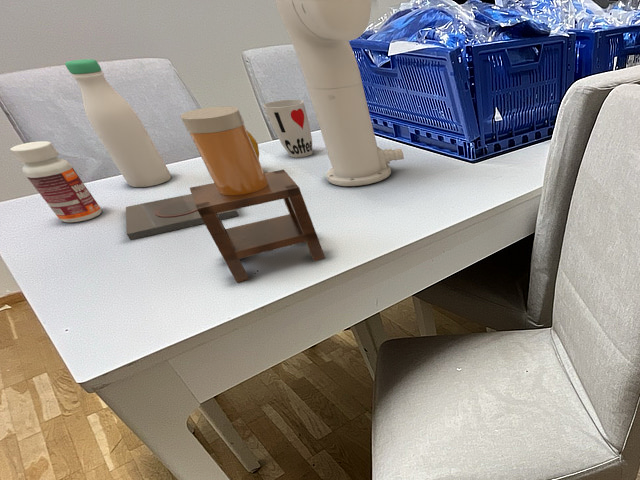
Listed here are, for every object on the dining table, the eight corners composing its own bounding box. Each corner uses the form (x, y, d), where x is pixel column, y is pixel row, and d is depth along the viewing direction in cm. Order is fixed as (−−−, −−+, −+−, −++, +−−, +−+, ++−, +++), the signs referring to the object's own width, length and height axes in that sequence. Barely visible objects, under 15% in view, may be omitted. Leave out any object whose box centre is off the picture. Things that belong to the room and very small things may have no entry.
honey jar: (264, 176, 62) (234, 103, 56) (273, 188, 58) (242, 112, 52) (214, 185, 59) (177, 111, 53) (221, 199, 55) (182, 121, 50)
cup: (284, 161, 99) (264, 109, 92) (281, 152, 104) (261, 102, 97) (322, 155, 102) (305, 104, 95) (316, 147, 107) (300, 97, 100)
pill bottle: (102, 218, 78) (52, 146, 70) (59, 226, 76) (2, 153, 68) (104, 207, 82) (56, 137, 74) (62, 215, 79) (9, 144, 71)
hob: (227, 192, 86) (224, 186, 85) (238, 215, 77) (235, 209, 77) (129, 212, 80) (125, 206, 79) (130, 240, 71) (125, 233, 70)
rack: (309, 236, 71) (283, 169, 64) (325, 258, 65) (299, 186, 58) (227, 258, 66) (189, 187, 59) (236, 283, 60) (196, 208, 54)
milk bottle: (180, 179, 92) (114, 58, 78) (140, 190, 88) (63, 65, 74) (161, 173, 95) (94, 56, 81) (122, 184, 91) (44, 62, 77)
